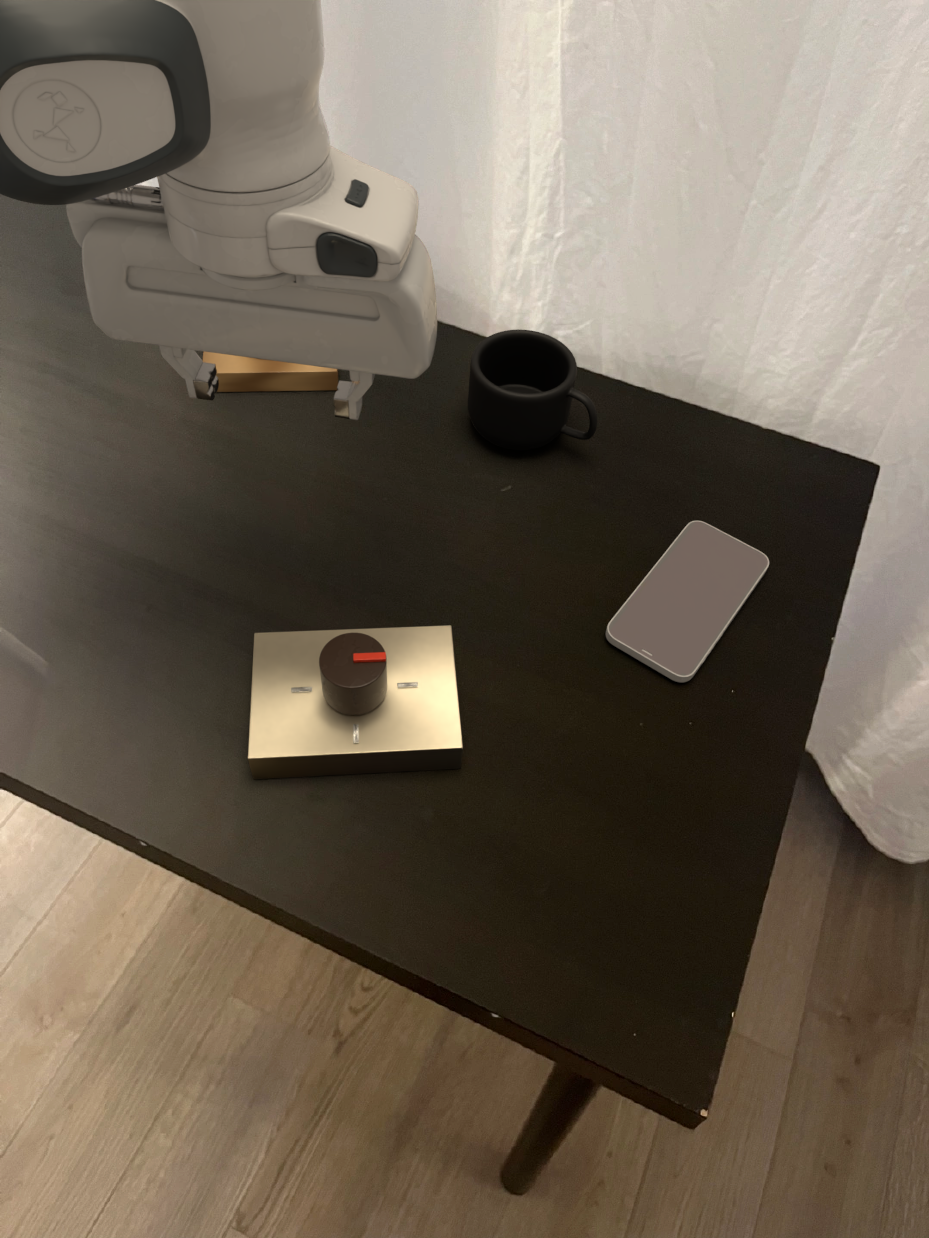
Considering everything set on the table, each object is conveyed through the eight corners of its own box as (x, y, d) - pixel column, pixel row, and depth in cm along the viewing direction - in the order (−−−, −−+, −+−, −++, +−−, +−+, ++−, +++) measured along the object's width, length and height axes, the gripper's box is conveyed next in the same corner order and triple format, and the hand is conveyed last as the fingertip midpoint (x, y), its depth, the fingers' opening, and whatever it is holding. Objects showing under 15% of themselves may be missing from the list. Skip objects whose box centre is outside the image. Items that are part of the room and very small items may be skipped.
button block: (204, 392, 86) (197, 356, 83) (212, 323, 92) (205, 287, 89) (338, 390, 87) (336, 355, 84) (337, 322, 93) (335, 286, 90)
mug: (446, 432, 85) (450, 368, 79) (500, 379, 90) (506, 314, 84) (563, 490, 81) (575, 428, 76) (612, 431, 86) (628, 368, 80)
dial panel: (253, 779, 64) (247, 757, 62) (259, 656, 70) (253, 631, 67) (460, 768, 65) (463, 746, 63) (449, 648, 71) (451, 623, 69)
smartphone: (774, 558, 77) (688, 682, 69) (771, 566, 78) (685, 689, 70) (693, 516, 79) (601, 631, 71) (690, 523, 80) (599, 638, 72)
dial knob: (322, 717, 64) (318, 686, 61) (322, 662, 66) (318, 630, 63) (388, 714, 64) (387, 684, 61) (386, 659, 67) (385, 627, 64)
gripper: (33, 208, 49) (101, 414, 60) (428, 258, 48) (423, 457, 59) (79, 146, 53) (135, 351, 64) (446, 192, 52) (438, 391, 63)
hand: (276, 403), depth 61 cm, fingers open, 8 cm apart
